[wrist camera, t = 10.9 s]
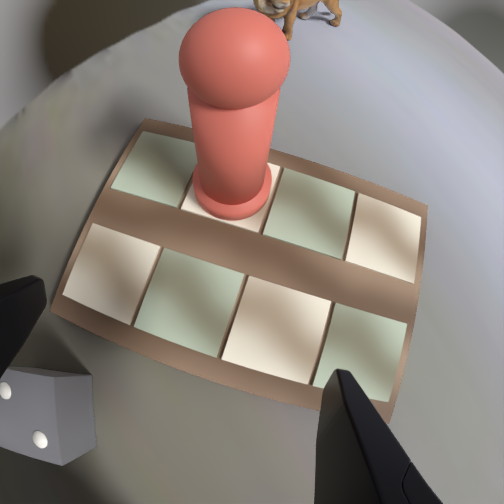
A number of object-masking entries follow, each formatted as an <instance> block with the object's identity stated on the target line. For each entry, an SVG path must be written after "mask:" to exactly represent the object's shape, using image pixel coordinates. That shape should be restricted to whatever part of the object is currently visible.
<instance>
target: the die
mask: <svg viewBox="0 0 504 504" xmlns="http://www.w3.org/2000/svg"><path fill="white" fill-rule="evenodd" d="M0 447H3V448H5V449H8V450H11V451H14V452H17V453H20V454H23V455H26V456H29V457H32V458H36V459H39V460H42V461H46V462H50V463H53V464H57V465H61V466H63V465H65V464H67V463H69V462H71V461H72V460H74V459H76V458H78V457H79V456H81V455H83V454H85V453H86V452H88V451H90V450H91V449H93V448H95V447H97V443H96V434H95V423H94V410H93V392H92V375H86V374H77V373H69V372H61V371H54V370H47V369H40V368H34V367H12V366H8V368H7V370H6V371H5V373H4V374H3V376H2V377H1V379H0Z"/></svg>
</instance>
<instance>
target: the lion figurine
mask: <svg viewBox="0 0 504 504" xmlns="http://www.w3.org/2000/svg"><path fill="white" fill-rule="evenodd" d="M253 1H254V5H255V6H256V8H257V10H259V11H260V12H261V13H262V14H264V15H266V16H267V17H268V18H270V19H271V20H273V21H274V22H275V19H274V18H280V17H284V27H283V30H282V32H283V33H284V35H285V37H286V39H287V40H291V37H292V26H293V23H294V21H295V18H296V14H297V11H298V10H304V9H307V8H309V9H308V11H307V12H305V13H300V14H299V17H300V18H301V19H308V18H309V17H310V16H311V15H312V14H313V13H314V12H315V11H316V10H317V5H318V3H319V1H322V2H323V3H324V4H325V6H326V7H327V8H328V10H329V11H330V12H331V13H333V14H334V15H335V18H334V19H332V20H331V21H330V24H331V25H333V26H339V25H340V21H341V16H342V11H341V9H340V8H339V0H253Z"/></svg>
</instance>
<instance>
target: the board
mask: <svg viewBox="0 0 504 504" xmlns="http://www.w3.org/2000/svg"><path fill="white" fill-rule="evenodd" d="M197 163H198V162H197V155H196V149H195V142H194V135H193V128H189V127H184V126H180V125H175V124H171V123H166V122H161V121H156V120H151V119H146V118H145V119H144V120H143V122H142V123H141V125H140V126H139V128H138V130H137V131H136V133H135V134H134V136H133V138H132V139H131V141H130V142H129V144H128V146H127V147H126V149H125V151H124V153H123V154H122V156H121V158H120V159H119V161H118V163H117V165H116V166H115V168H114V170H113V172H112V174H111V175H110V177H109V179H108V181H107V183H106V184H105V186H104V188H103V190H102V192H101V194H100V196H99V198H98V200H97V202H96V204H95V206H94V208H93V210H92V212H91V214H90V216H89V218H88V220H87V222H86V224H85V226H84V228H83V230H82V233H81V235H80V237H79V239H78V241H77V243H76V246H75V248H74V250H73V253H72V255H71V257H70V260H69V262H68V264H67V267H66V269H65V272H64V274H63V277H62V279H61V282H60V284H59V287H58V289H57V292H56V295H55V297H54V300H53V303H52V306H51V308H50V311H51V312H52V313H54V314H56V315H58V316H60V317H62V318H64V319H66V320H68V321H70V322H72V323H74V324H76V325H78V326H80V327H82V328H84V329H86V330H88V331H90V332H92V333H94V334H96V335H98V336H100V337H103V338H105V339H107V340H109V341H111V342H114V343H116V344H118V345H120V346H123V347H125V348H127V349H129V350H132V351H134V352H136V353H139V354H141V355H144V356H146V357H149V358H151V359H154V360H156V361H159V362H161V363H164V364H166V365H169V366H171V367H174V368H177V369H179V370H182V371H185V372H188V373H190V374H193V375H196V376H199V377H202V378H205V379H208V380H210V381H213V382H216V383H219V384H223V385H226V386H229V387H232V388H235V389H238V390H242V391H245V392H248V393H252V394H255V395H259V396H262V397H266V398H269V399H273V400H277V401H280V402H284V403H288V404H292V405H296V406H300V407H304V408H309V409H313V410H317V411H320V408H321V400H322V393H323V389H324V387H325V385H326V383H327V381H328V380H329V378H330V376H331V374H332V373H333V371H334V370H335V369H337V368H339V369H344V370H348V371H350V372H351V373H352V375H353V376H354V378H355V379H356V380H357V382H358V383H359V385H360V386H361V388H362V389H363V391H364V392H365V394H366V395H367V396H368V398H369V399H370V401H371V402H372V404H373V405H374V407H375V408H376V410H377V411H378V413H379V414H380V415H381V417H382V418H383V420H384V421H385V423H387V424H389V422H390V419H391V416H392V413H393V409H394V406H395V403H396V399H397V396H398V392H399V388H400V384H401V381H402V377H403V373H404V369H405V364H406V360H407V356H408V351H409V347H410V342H411V337H412V332H413V327H414V321H415V316H416V310H417V304H418V298H419V291H420V284H421V276H422V268H423V260H424V250H425V239H426V226H427V210H428V205H425V204H423V203H421V202H418V201H416V200H414V199H411V198H409V197H406V196H404V195H402V194H399V193H397V192H394V191H392V190H389V189H387V188H384V187H381V186H379V185H376V184H374V183H371V182H368V181H366V180H363V179H360V178H358V177H355V176H352V175H349V174H347V173H344V172H341V171H338V170H335V169H332V168H330V167H327V166H324V165H321V164H318V163H315V162H312V161H309V160H305V159H302V158H299V157H296V156H293V155H290V154H286V153H283V152H280V151H276V150H273V149H270V150H269V155H268V161H267V164H268V166H269V167H270V170H271V174H272V184H271V189H270V193H269V197H268V200H267V202H266V203H265V205H264V206H263V208H262V209H261V210H260V211H258V212H257V213H256V214H254V215H253V216H251V217H249V218H246V219H243V220H237V221H227V220H221V219H218V218H215V217H213V216H211V215H209V214H208V213H207V212H205V211H204V210H203V209H202V207H201V206H200V205H199V203H198V202H197V199H196V197H195V192H194V187H193V180H192V179H193V172H194V169H195V166H196V165H197Z"/></svg>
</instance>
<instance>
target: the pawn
mask: <svg viewBox="0 0 504 504" xmlns="http://www.w3.org/2000/svg"><path fill="white" fill-rule="evenodd" d="M179 67H180V72H181V75H182V77H183V80H184V82H185V84H186V85H187V86H188V88H187V90H188V99H189V107H190V114H191V121H192V128H193V135H194V142H195V149H196V155H197V162H198V163H197V165H196V166H195V169H194V172H193V179H192V180H193V187H194V192H195V197H196V199H197V202H198V203H199V205H200V206H201V207H202V209H203V210H204V211H205V212H207V213H208V214H209V215H211V216H213V217H215V218H218V219H221V220H227V221H237V220H243V219H246V218H249V217H251V216H253V215H254V214H256V213H257V212H258V211H260V210H261V209H262V208H263V206H264V205H265V203H266V202H267V200H268V197H269V193H270V189H271V184H272V174H271V170H270V167H269V166H268V164H267V161H268V155H269V150H270V144H271V139H272V133H273V127H274V122H275V116H276V111H277V105H278V99H279V94H280V87H281V85H282V84H283V82H284V80H285V78H286V76H287V74H288V70H289V67H290V49H289V45H288V42H287V39H286V37H285V35H284V33H283V32H282V30H281V29H280V28H279V26H278V25H277V24H276V23H275V22H274V21H273V20H271V19H270V18H268V17H267V16H265V15H264V14H262V13H260V12H257V11H254V10H251V9H247V8H237V7H234V8H224V9H220V10H217V11H214V12H211V13H209V14H207V15H205V16H204V17H202V18H201V19H199V20H198V21H197V22H196V23H195V24H194V25H192V27H191V28H190V29H189V31H188V32H187V33H186V35H185V37H184V39H183V41H182V44H181V47H180V51H179Z"/></svg>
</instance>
